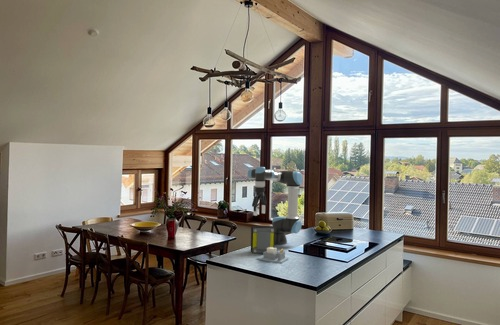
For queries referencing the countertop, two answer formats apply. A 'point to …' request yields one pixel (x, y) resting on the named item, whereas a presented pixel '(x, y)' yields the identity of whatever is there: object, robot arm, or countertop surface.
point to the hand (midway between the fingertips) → (259, 214)
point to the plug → (272, 250)
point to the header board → (274, 257)
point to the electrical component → (261, 238)
